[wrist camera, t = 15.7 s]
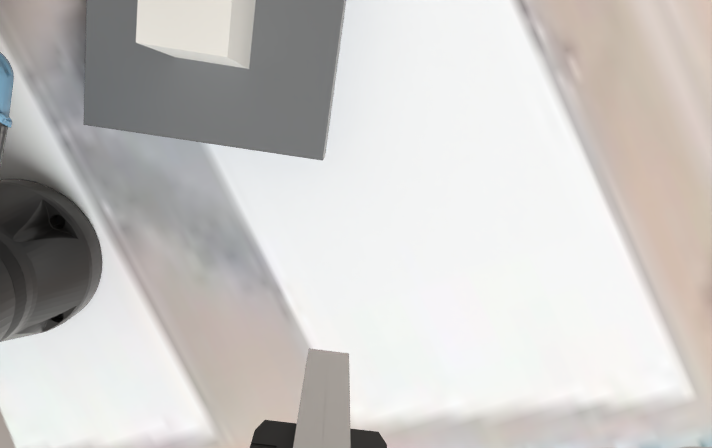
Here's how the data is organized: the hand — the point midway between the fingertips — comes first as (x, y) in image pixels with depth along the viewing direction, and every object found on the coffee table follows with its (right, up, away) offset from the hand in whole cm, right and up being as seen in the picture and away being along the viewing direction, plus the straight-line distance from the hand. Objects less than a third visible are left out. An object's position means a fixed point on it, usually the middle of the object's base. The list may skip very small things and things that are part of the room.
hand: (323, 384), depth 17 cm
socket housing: (-10, +24, +25) cm, 36 cm away
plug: (-10, +23, +23) cm, 34 cm away
